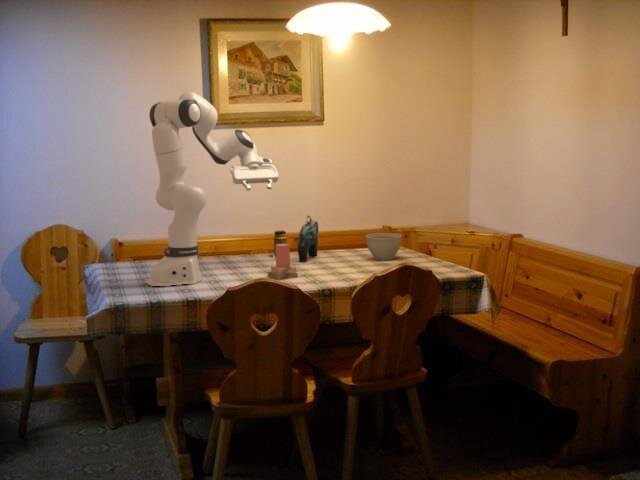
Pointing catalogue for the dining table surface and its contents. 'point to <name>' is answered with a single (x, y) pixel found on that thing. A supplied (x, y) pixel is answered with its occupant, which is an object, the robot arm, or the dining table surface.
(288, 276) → the walnut base slab
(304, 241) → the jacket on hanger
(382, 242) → the planter bowl
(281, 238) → the condiment
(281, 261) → the brick-red pillar
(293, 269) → the oak top slab
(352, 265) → the dining table surface
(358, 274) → the dining table surface
